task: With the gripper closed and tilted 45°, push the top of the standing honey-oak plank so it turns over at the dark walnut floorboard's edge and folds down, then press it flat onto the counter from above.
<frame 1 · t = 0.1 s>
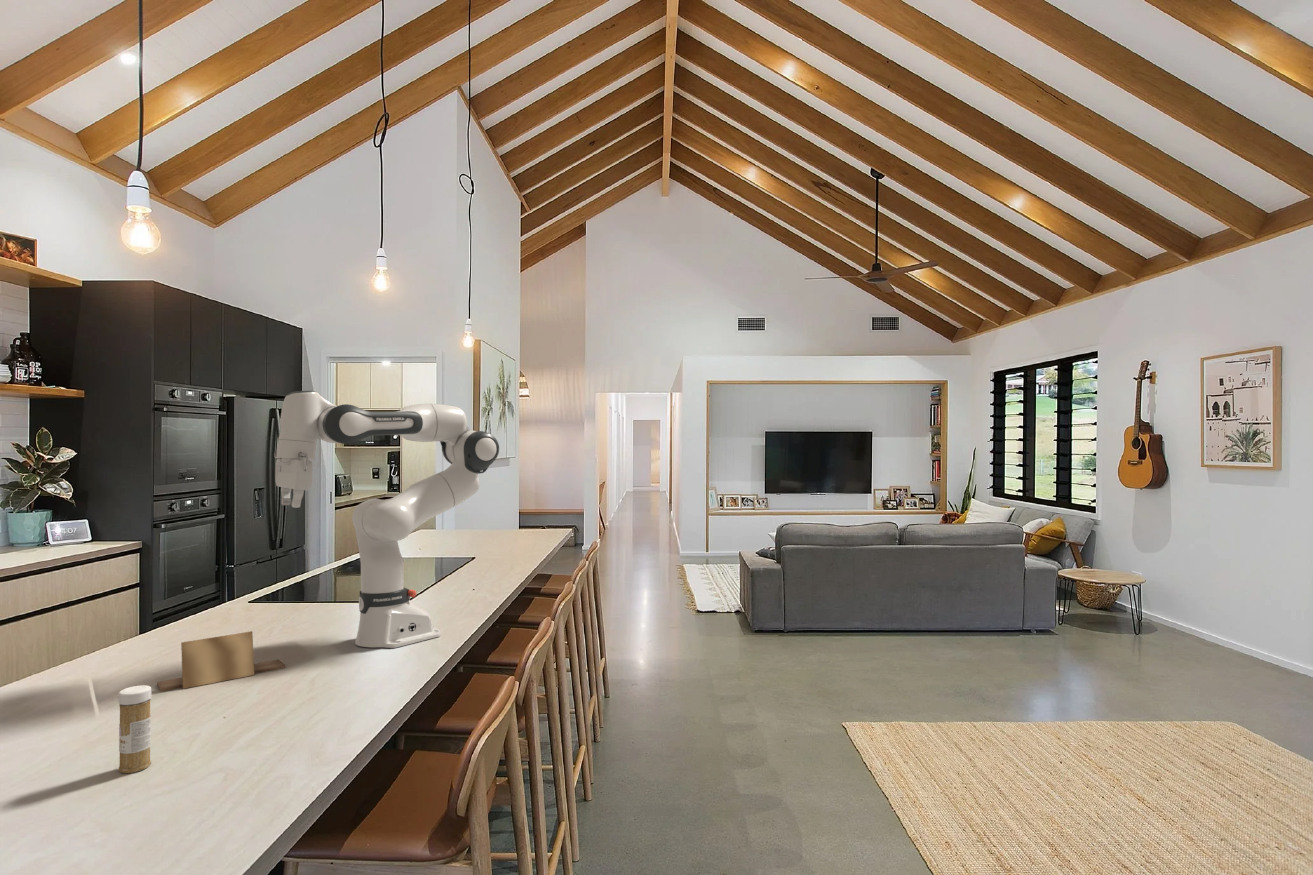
hand: (290, 506, 184), 39 cm above the countertop, tool pointing down, fingers open, 8 cm apart
oak plank: (218, 658, 165), point 6 cm above the countertop, hinge at 100.0°
walnut floorboard: (223, 678, 169), on the countertop
spice jar: (135, 769, 122), on the countertop
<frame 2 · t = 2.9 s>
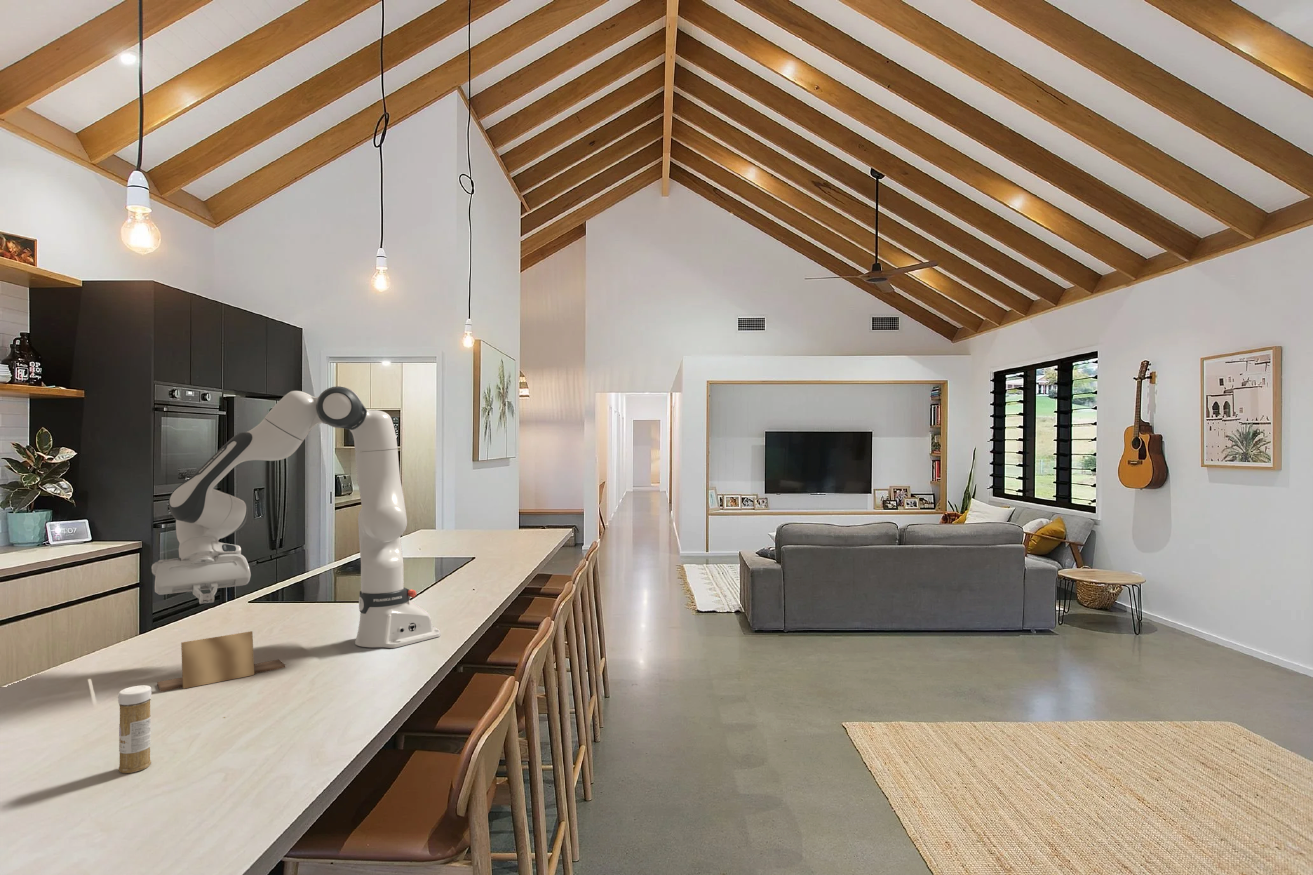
hand: (207, 601, 175), 16 cm above the countertop, tool tilted 45°, fingers closed
nothing on the countertop moved.
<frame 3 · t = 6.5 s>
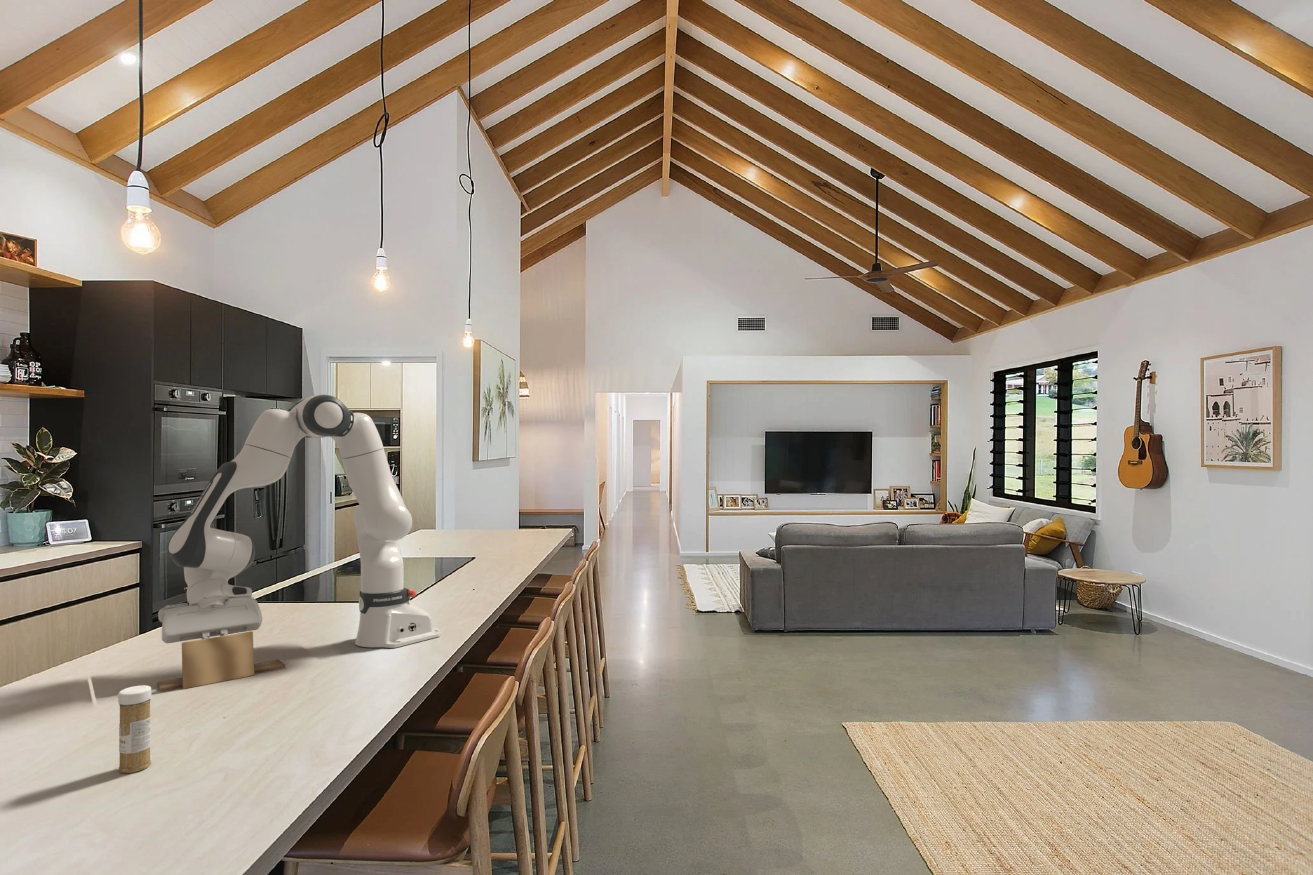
hand: (216, 650, 166), 7 cm above the countertop, tool tilted 45°, fingers closed, pressing on oak plank
oak plank: (218, 659, 165), point 6 cm above the countertop, hinge at 96.8°, touching gripper
everything else where it was.
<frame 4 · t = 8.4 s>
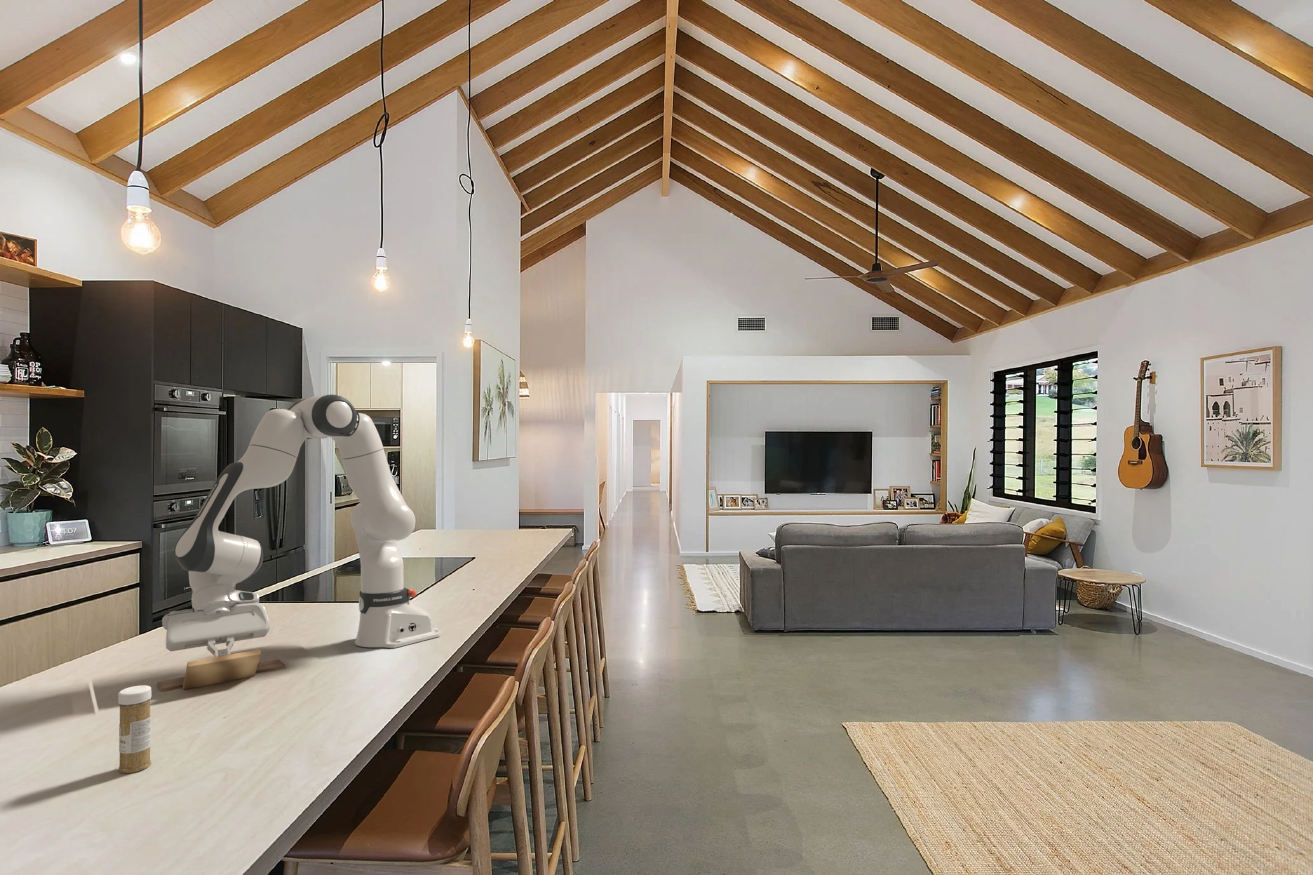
hand: (222, 658, 160), 7 cm above the countertop, tool tilted 45°, fingers closed, pressing on oak plank
oak plank: (222, 669, 162), point 4 cm above the countertop, hinge at 44.5°, touching gripper
everything else where it was.
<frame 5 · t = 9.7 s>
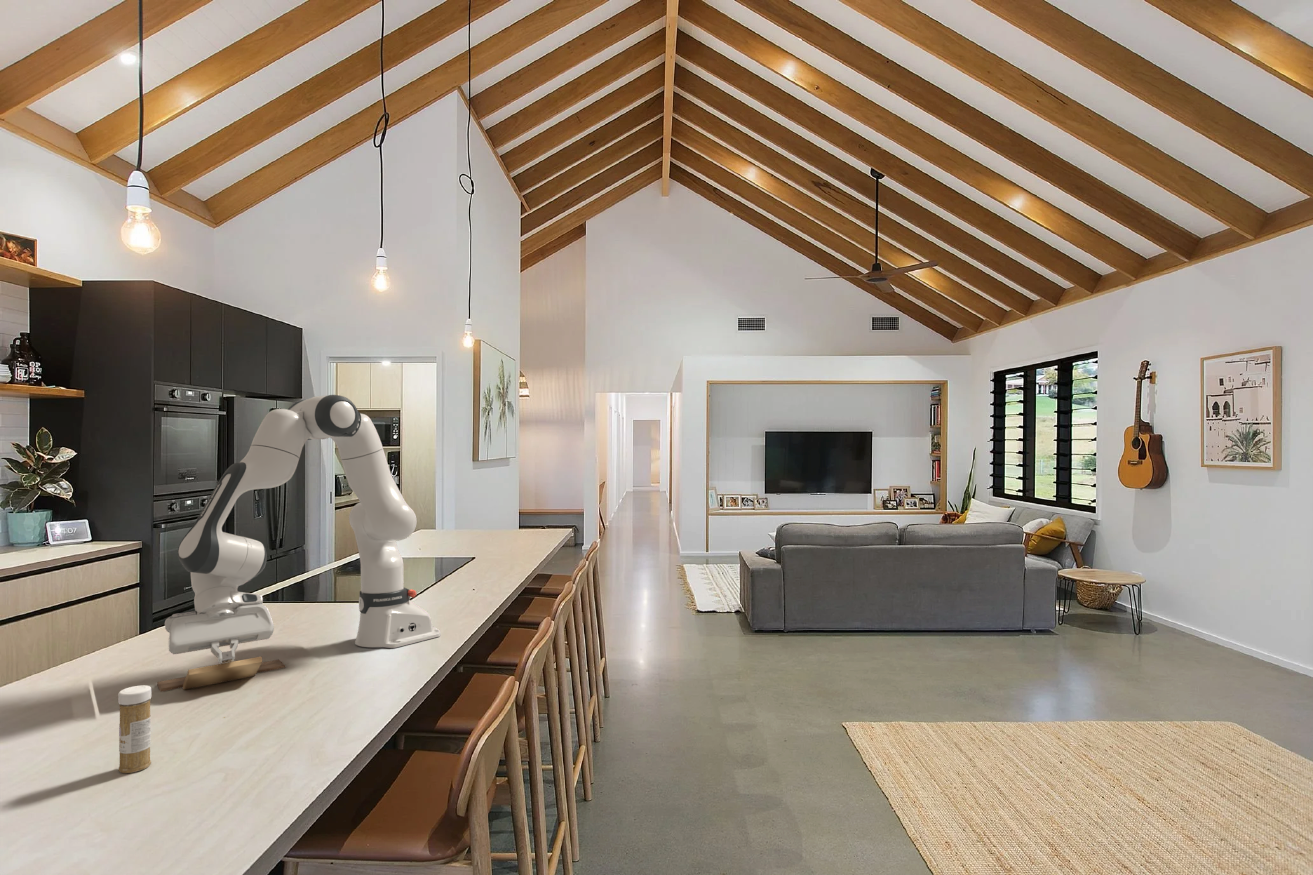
hand: (227, 660, 158), 7 cm above the countertop, tool tilted 45°, fingers closed
oak plank: (222, 673, 161), point 3 cm above the countertop, hinge at 33.9°
everything else where it was.
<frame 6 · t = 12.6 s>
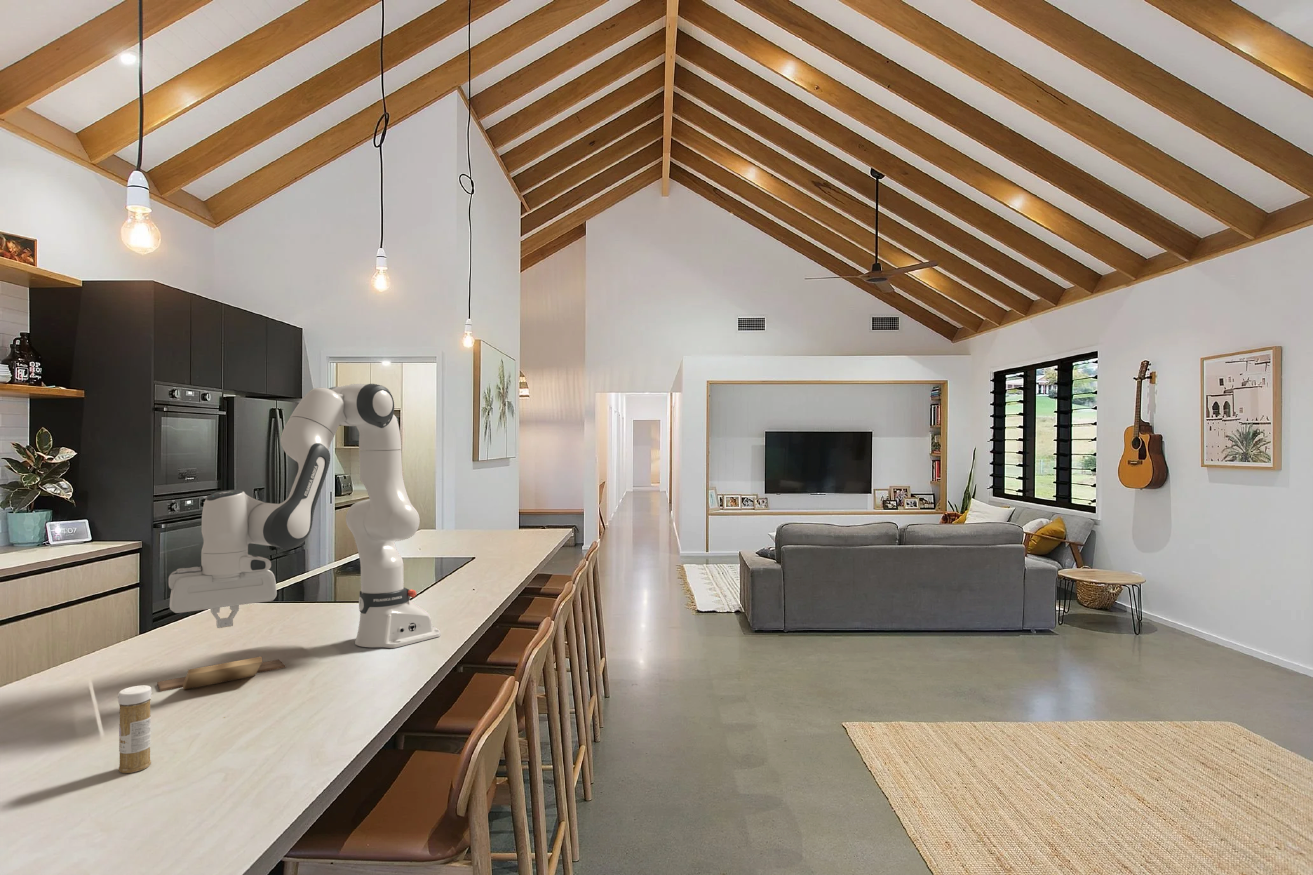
hand: (224, 626, 159), 15 cm above the countertop, tool pointing down, fingers closed
nothing on the countertop moved.
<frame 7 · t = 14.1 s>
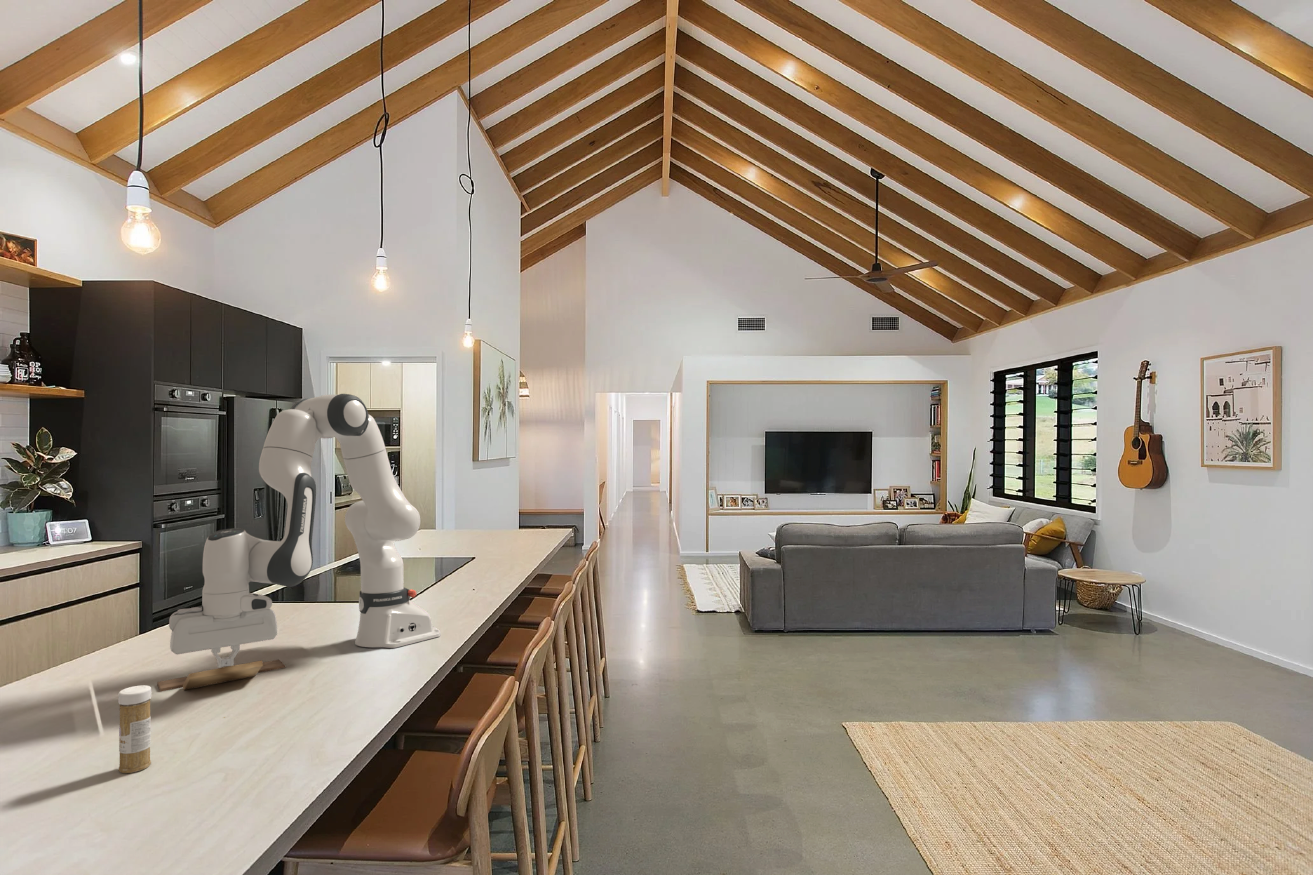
hand: (225, 666, 158), 6 cm above the countertop, tool pointing down, fingers closed, pressing on oak plank
oak plank: (223, 675, 161), point 3 cm above the countertop, hinge at 28.6°, touching gripper
everything else where it was.
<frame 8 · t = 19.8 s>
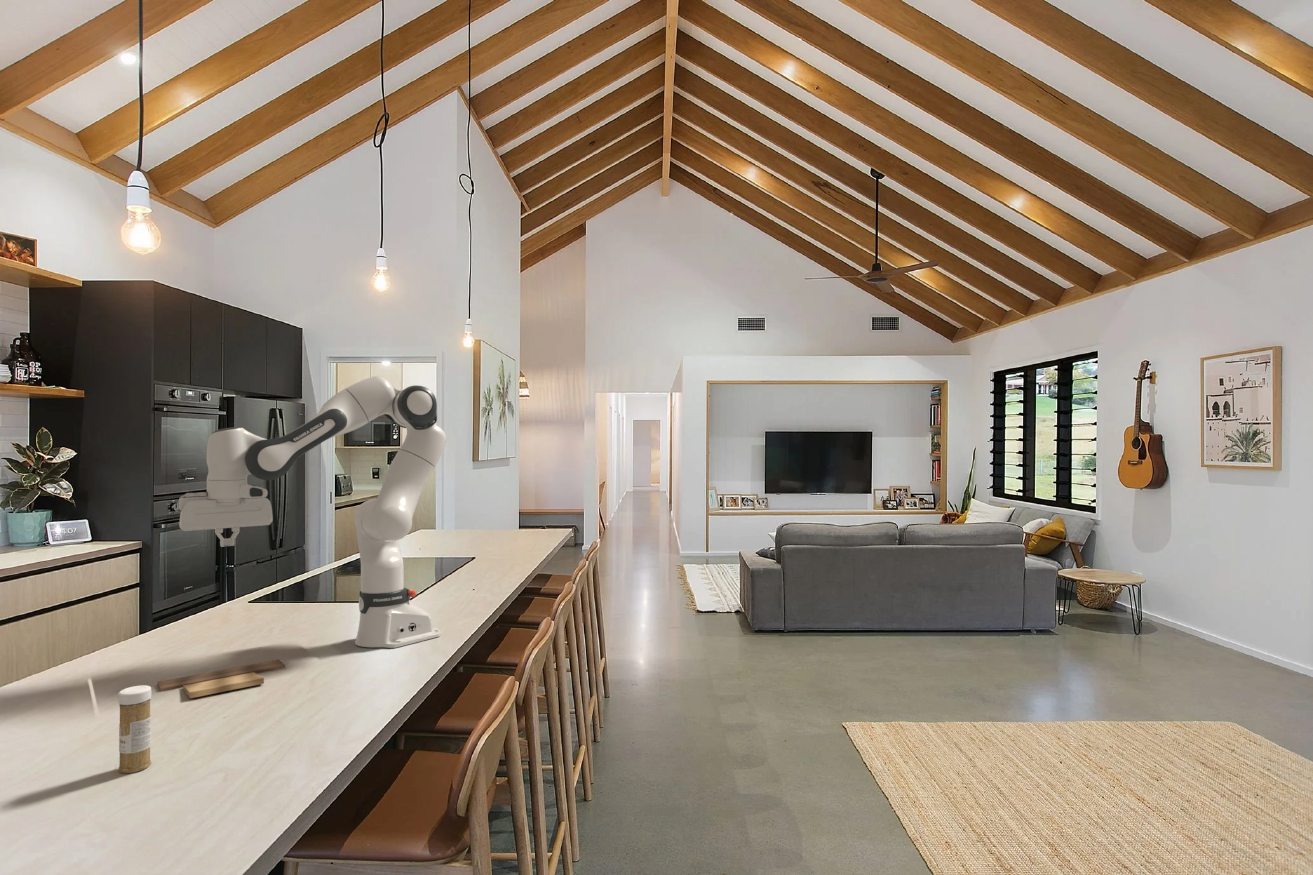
hand: (227, 545, 182), 29 cm above the countertop, tool pointing down, fingers closed
oak plank: (223, 684, 161), point 1 cm above the countertop, hinge at 6.2°
everything else where it was.
at the end: oak plank at +6° (first picture: +100°) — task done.
